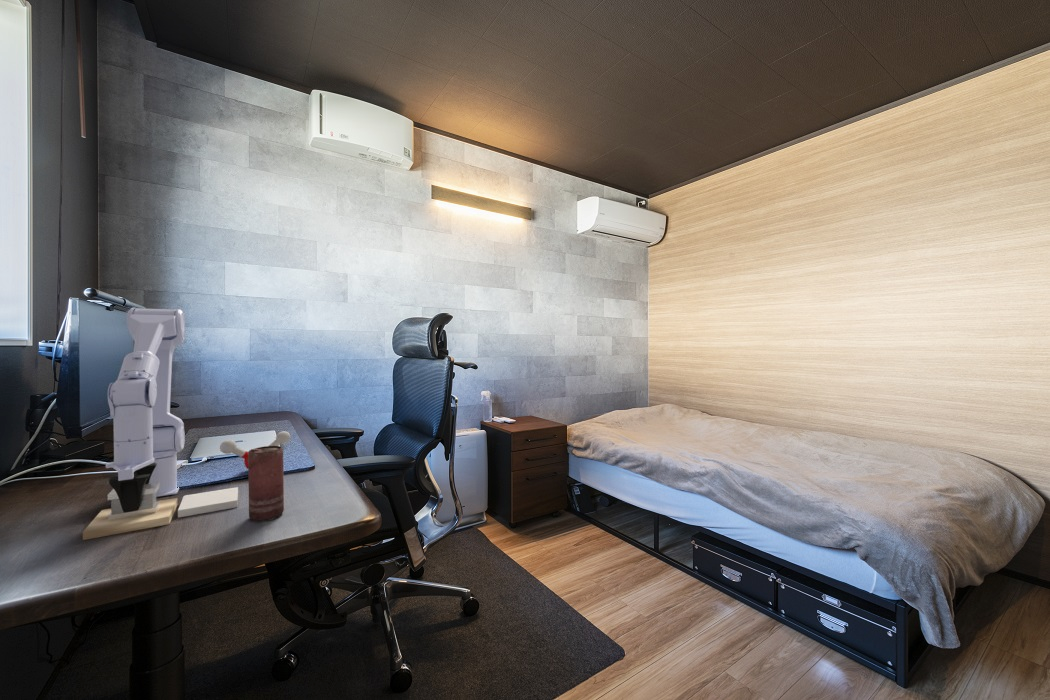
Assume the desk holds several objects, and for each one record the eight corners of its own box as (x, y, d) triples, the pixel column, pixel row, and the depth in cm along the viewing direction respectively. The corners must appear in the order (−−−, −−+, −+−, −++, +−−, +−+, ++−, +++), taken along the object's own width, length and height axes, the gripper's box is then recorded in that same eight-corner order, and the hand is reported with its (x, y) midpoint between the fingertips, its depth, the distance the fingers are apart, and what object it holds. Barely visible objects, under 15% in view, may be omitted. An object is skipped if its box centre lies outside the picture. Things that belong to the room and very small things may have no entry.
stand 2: (184, 502, 94) (183, 495, 94) (238, 493, 99) (238, 487, 99) (177, 517, 85) (177, 510, 85) (237, 507, 91) (237, 500, 91)
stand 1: (102, 517, 86) (101, 509, 86) (177, 504, 92) (177, 497, 92) (82, 540, 76) (82, 531, 76) (169, 524, 82) (169, 516, 82)
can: (250, 513, 88) (250, 446, 87) (285, 508, 90) (284, 443, 90) (244, 524, 82) (243, 453, 82) (281, 519, 85) (280, 450, 84)
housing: (159, 506, 87) (159, 482, 87) (156, 512, 84) (155, 487, 84) (113, 513, 84) (113, 488, 84) (107, 520, 80) (107, 495, 80)
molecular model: (224, 480, 108) (223, 442, 108) (215, 476, 112) (215, 439, 111) (293, 464, 123) (293, 430, 123) (284, 461, 126) (284, 428, 126)
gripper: (115, 434, 87) (116, 499, 88) (94, 449, 75) (96, 523, 76) (160, 430, 91) (160, 492, 92) (146, 444, 79) (147, 515, 80)
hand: (134, 506), depth 84 cm, fingers open, 5 cm apart
